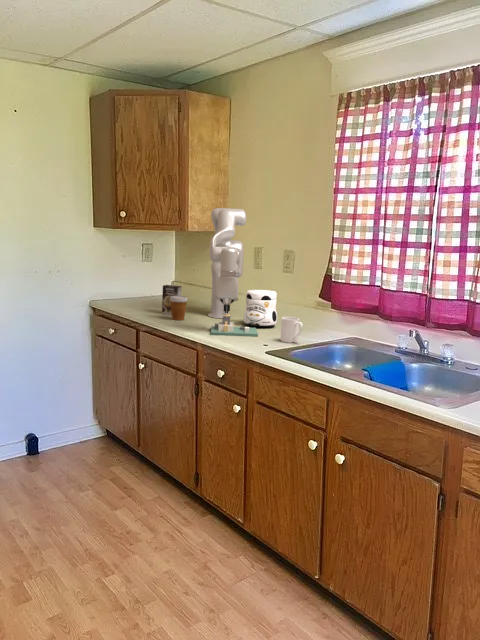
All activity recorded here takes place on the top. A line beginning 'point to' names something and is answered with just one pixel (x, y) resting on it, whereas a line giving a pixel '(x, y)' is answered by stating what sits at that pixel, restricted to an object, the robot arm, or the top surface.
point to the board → (232, 330)
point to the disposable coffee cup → (178, 307)
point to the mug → (290, 329)
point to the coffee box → (167, 293)
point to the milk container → (260, 308)
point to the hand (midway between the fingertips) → (226, 312)
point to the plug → (226, 319)
